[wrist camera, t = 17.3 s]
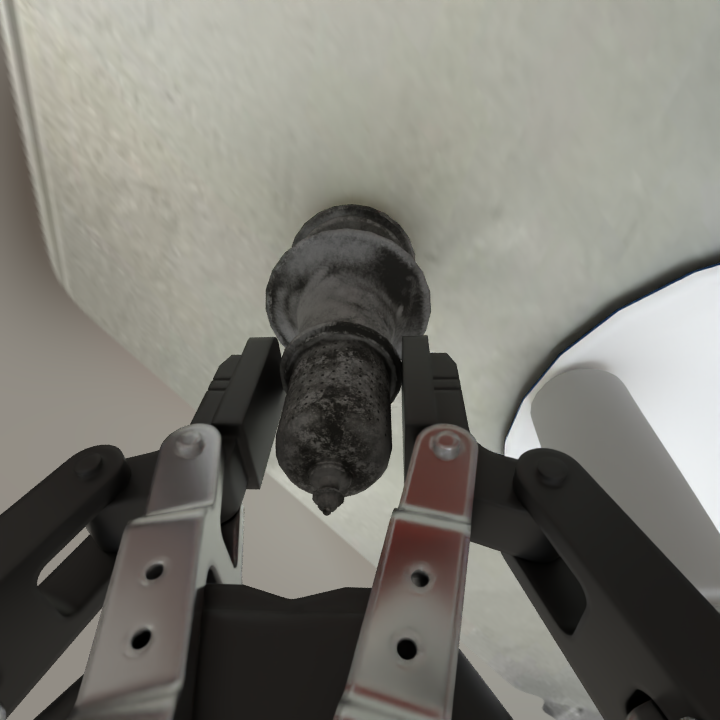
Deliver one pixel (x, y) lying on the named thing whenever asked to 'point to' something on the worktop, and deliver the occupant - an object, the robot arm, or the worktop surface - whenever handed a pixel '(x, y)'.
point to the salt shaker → (343, 347)
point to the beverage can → (630, 468)
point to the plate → (657, 375)
